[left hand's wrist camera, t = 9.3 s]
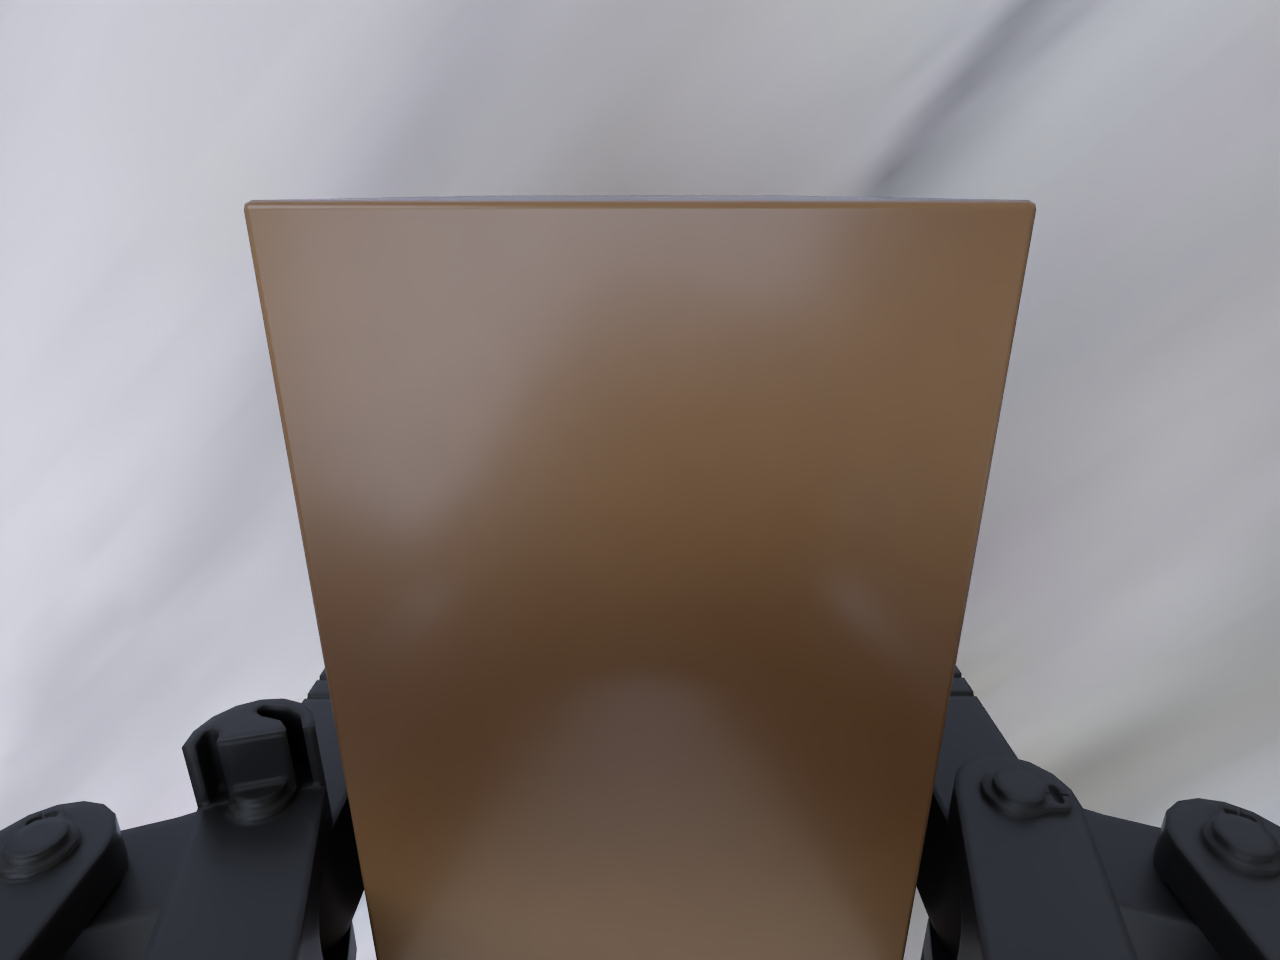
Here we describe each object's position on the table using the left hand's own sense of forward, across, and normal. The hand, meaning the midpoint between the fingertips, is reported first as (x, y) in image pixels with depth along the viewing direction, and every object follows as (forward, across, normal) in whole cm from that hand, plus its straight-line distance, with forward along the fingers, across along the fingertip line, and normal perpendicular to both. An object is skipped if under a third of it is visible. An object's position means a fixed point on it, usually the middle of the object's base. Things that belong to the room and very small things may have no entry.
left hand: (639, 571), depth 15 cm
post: (+1, 0, -23) cm, 23 cm away
